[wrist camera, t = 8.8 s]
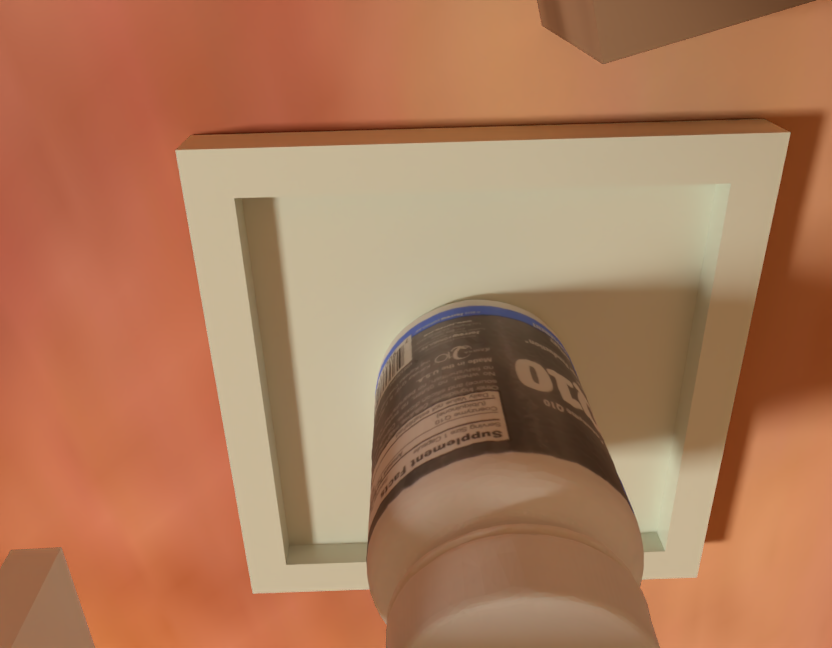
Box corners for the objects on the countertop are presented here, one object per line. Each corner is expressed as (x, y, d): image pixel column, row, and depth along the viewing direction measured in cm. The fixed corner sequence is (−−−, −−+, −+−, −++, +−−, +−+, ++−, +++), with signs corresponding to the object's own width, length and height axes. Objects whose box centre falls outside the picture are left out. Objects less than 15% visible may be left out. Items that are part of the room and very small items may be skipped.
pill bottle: (604, 406, 18) (746, 729, 11) (440, 488, 19) (468, 833, 12) (512, 255, 16) (609, 524, 9) (335, 355, 17) (292, 669, 10)
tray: (259, 559, 21) (252, 593, 20) (189, 134, 15) (175, 150, 14) (681, 545, 21) (697, 577, 20) (763, 118, 16) (790, 132, 15)
